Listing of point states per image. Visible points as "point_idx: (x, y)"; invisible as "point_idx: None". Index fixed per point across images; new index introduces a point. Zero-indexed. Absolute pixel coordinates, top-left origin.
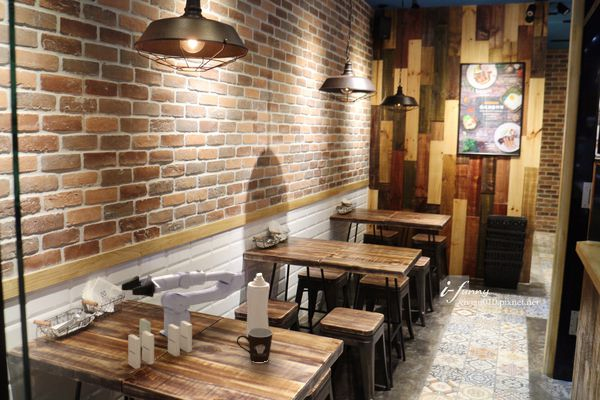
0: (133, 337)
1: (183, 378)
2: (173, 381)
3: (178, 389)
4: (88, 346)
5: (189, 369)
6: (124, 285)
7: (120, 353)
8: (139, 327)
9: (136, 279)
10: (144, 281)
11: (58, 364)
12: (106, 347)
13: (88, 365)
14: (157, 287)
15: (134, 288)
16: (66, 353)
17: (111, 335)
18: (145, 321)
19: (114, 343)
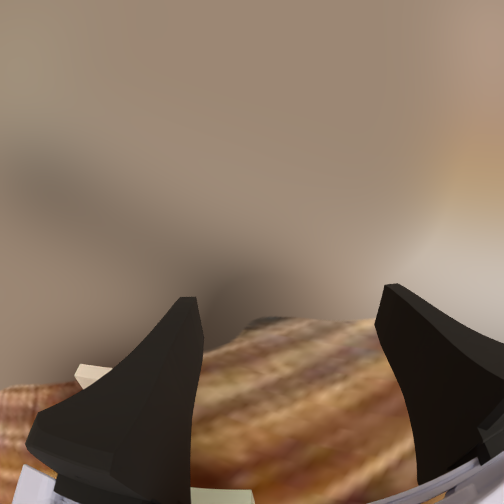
0: (97, 369)
1: (11, 437)
2: (21, 419)
3: (4, 402)
4: (348, 391)
5: (18, 476)
6: (389, 304)
7: (239, 444)
8: (253, 498)
9: (479, 373)
10: (455, 494)
11: (275, 326)
12: (314, 428)
13: (225, 362)
14: (28, 488)
15: (181, 302)
16: (327, 346)
17: (408, 457)
18: (197, 495)
19: (333, 455)
